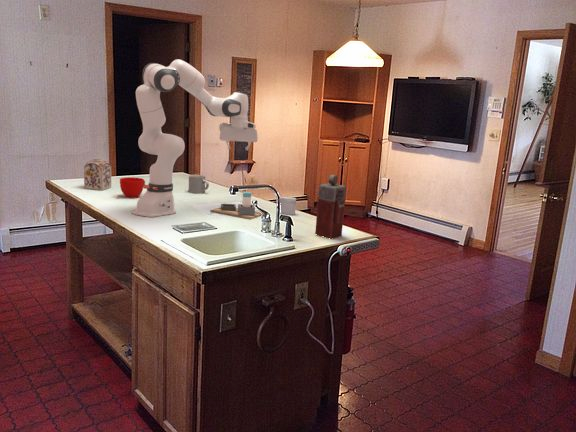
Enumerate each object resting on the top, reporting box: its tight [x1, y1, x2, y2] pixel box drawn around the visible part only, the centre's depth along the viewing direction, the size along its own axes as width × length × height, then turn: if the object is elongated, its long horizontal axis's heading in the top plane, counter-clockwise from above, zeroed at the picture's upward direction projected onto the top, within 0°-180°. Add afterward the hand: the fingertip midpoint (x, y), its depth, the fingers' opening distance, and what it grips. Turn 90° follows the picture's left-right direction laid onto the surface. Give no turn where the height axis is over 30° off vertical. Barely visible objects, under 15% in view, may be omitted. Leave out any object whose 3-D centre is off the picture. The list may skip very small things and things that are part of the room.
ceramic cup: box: [119, 176, 146, 199], centre depth 295 cm, size 13×17×10 cm
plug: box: [241, 191, 252, 207], centre depth 267 cm, size 4×4×11 cm
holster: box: [220, 203, 237, 211], centre depth 276 cm, size 8×8×2 cm
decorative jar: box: [83, 157, 112, 191], centre depth 310 cm, size 12×12×18 cm
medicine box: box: [279, 196, 297, 216], centre depth 278 cm, size 8×4×9 cm, turn 74°
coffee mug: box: [188, 174, 210, 195], centre depth 319 cm, size 13×10×10 cm
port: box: [237, 203, 256, 216], centre depth 268 cm, size 8×8×4 cm
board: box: [209, 206, 262, 220], centre depth 272 cm, size 14×24×1 cm, turn 63°
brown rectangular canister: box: [314, 174, 347, 240], centre depth 237 cm, size 9×11×28 cm
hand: (238, 149), depth 282 cm, fingers open, 8 cm apart
